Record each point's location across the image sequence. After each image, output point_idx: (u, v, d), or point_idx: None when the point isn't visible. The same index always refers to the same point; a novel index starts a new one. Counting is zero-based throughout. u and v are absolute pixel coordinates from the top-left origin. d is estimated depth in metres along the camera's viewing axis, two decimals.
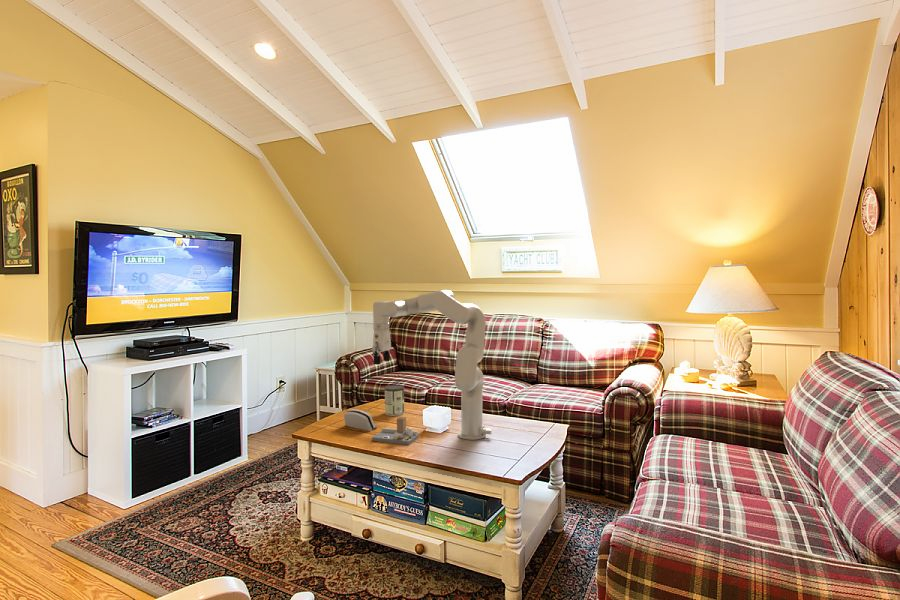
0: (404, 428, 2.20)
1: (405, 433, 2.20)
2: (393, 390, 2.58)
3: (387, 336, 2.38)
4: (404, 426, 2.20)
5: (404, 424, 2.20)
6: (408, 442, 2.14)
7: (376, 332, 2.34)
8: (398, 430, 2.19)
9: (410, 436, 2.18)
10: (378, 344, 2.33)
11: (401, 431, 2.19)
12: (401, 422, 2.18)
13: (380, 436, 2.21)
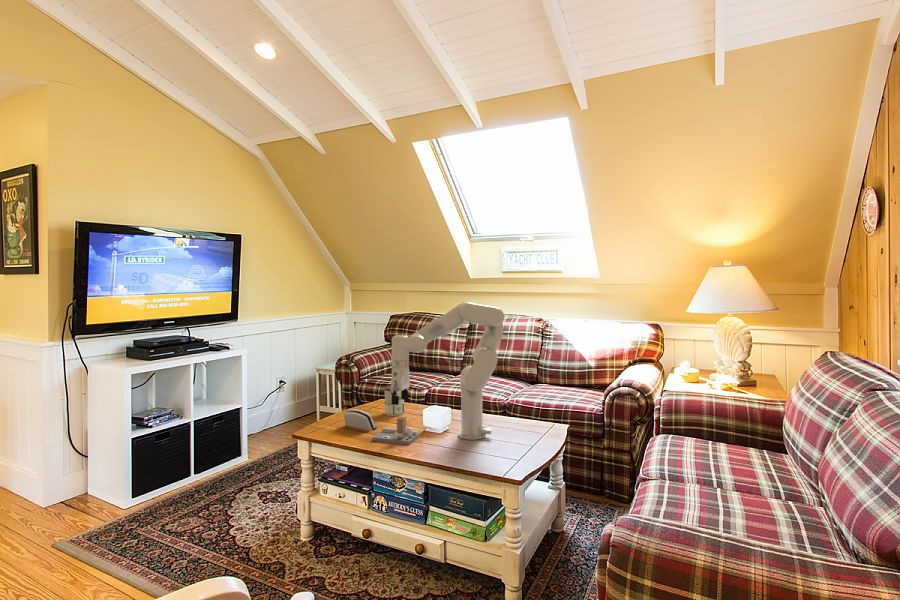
0: (404, 428, 2.20)
1: (405, 433, 2.20)
2: None
3: (406, 373, 2.19)
4: (404, 426, 2.20)
5: (404, 424, 2.20)
6: (408, 442, 2.14)
7: (395, 370, 2.15)
8: (398, 430, 2.19)
9: (410, 436, 2.18)
10: (397, 383, 2.14)
11: (401, 431, 2.19)
12: (401, 422, 2.18)
13: (380, 436, 2.21)
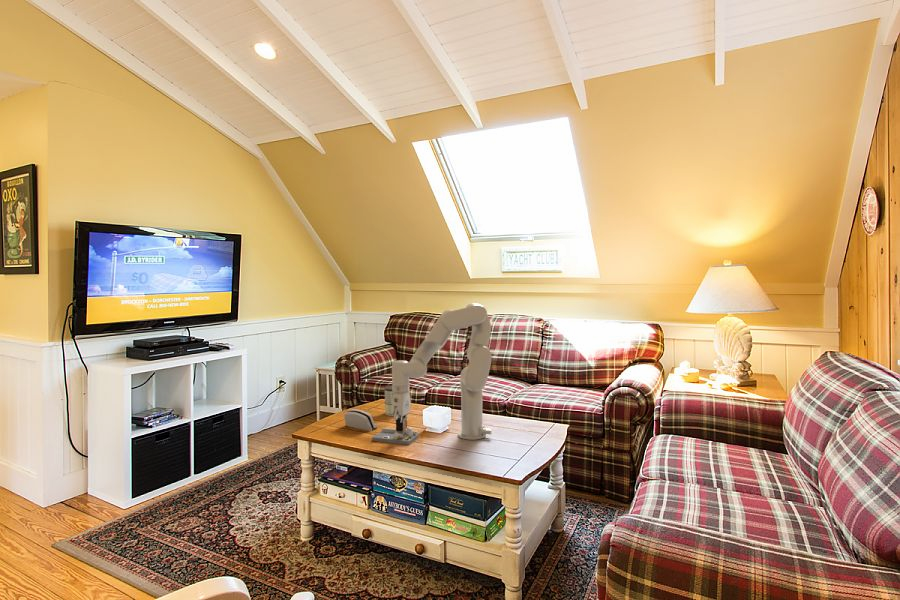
0: (404, 428, 2.20)
1: (405, 433, 2.20)
2: None
3: (407, 398, 2.20)
4: (404, 426, 2.20)
5: (404, 424, 2.20)
6: (408, 442, 2.14)
7: (395, 395, 2.15)
8: None
9: (410, 436, 2.18)
10: (398, 409, 2.15)
11: (401, 431, 2.19)
12: None
13: (380, 436, 2.21)
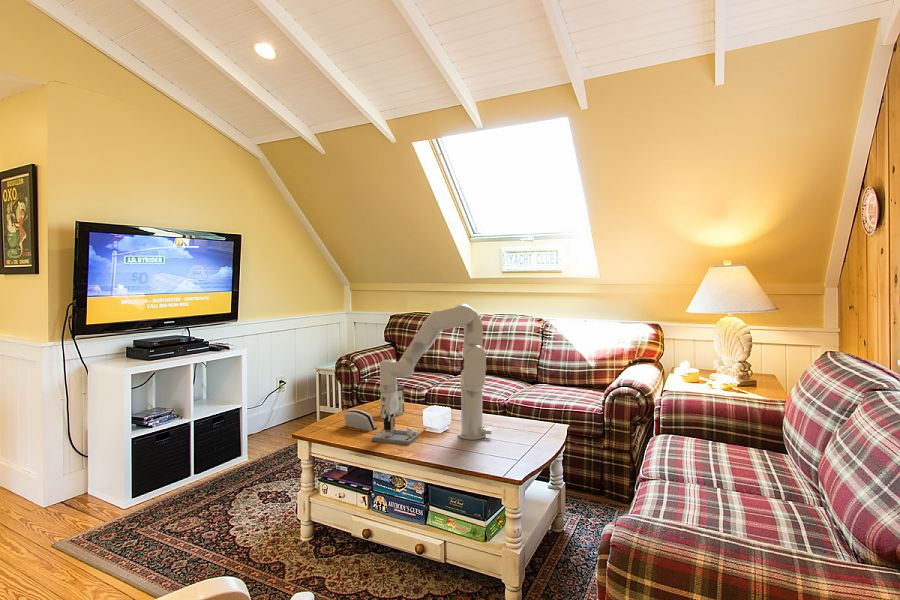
0: (392, 427, 2.22)
1: (393, 432, 2.22)
2: None
3: (395, 397, 2.22)
4: (392, 425, 2.22)
5: (392, 423, 2.22)
6: (408, 442, 2.14)
7: (383, 394, 2.17)
8: None
9: (410, 436, 2.18)
10: (385, 407, 2.17)
11: (389, 430, 2.21)
12: None
13: (380, 436, 2.21)
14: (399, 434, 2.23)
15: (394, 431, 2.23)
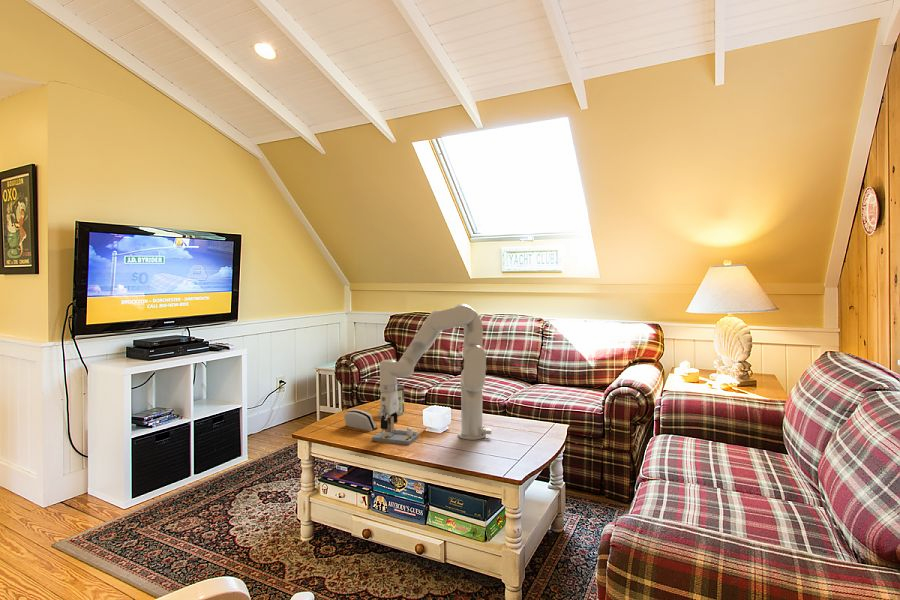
0: (392, 427, 2.22)
1: (393, 432, 2.22)
2: None
3: (395, 397, 2.22)
4: (392, 425, 2.22)
5: (392, 423, 2.22)
6: (408, 442, 2.14)
7: (383, 394, 2.17)
8: (386, 429, 2.21)
9: (410, 436, 2.18)
10: (385, 407, 2.17)
11: (389, 430, 2.21)
12: (389, 421, 2.21)
13: (380, 436, 2.21)
14: (399, 434, 2.23)
15: (394, 431, 2.23)
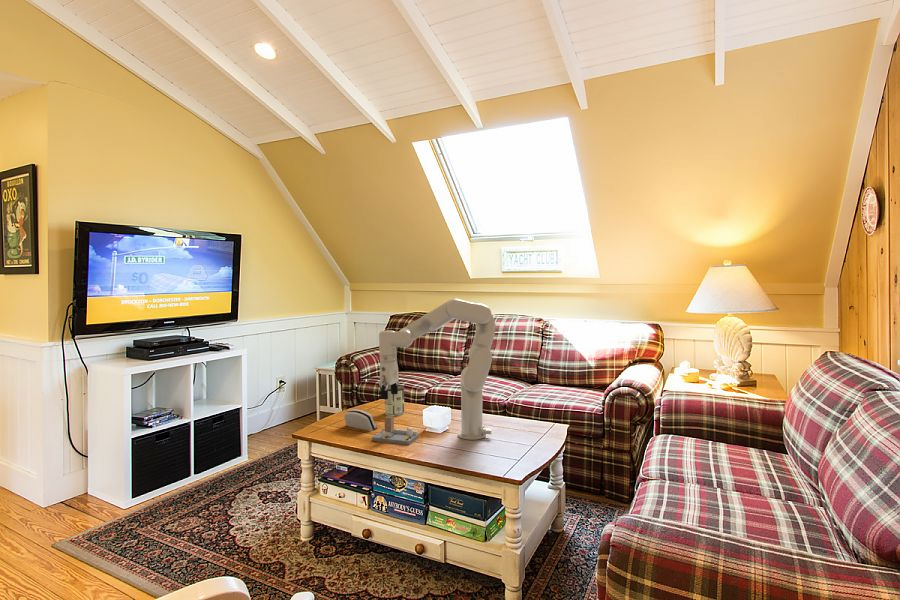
0: (392, 427, 2.22)
1: (393, 432, 2.22)
2: None
3: (395, 368, 2.21)
4: (392, 425, 2.22)
5: (392, 423, 2.22)
6: (408, 442, 2.14)
7: (383, 365, 2.17)
8: (386, 429, 2.21)
9: (410, 436, 2.18)
10: (385, 378, 2.16)
11: (389, 430, 2.21)
12: (389, 421, 2.21)
13: (380, 436, 2.21)
14: (399, 434, 2.23)
15: (394, 431, 2.23)
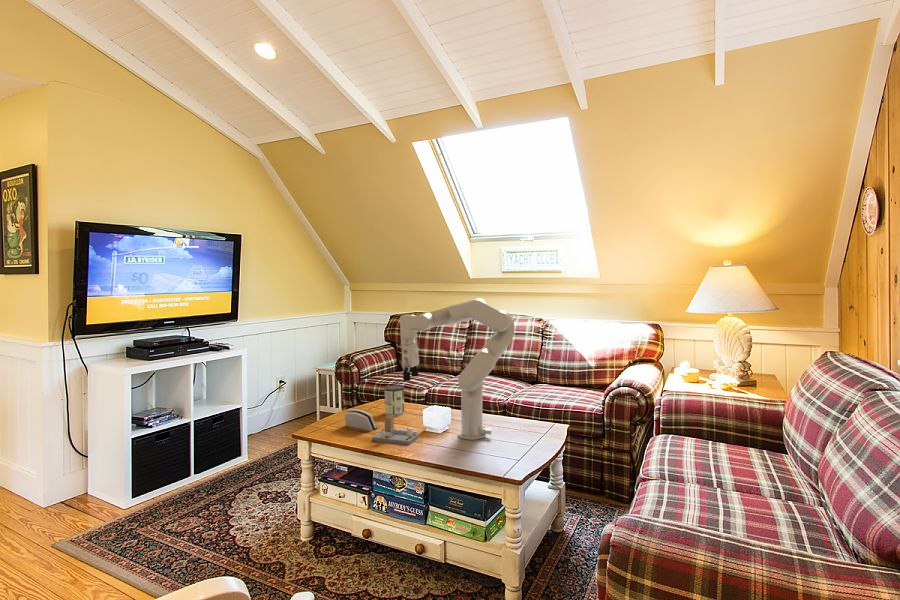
0: (392, 427, 2.22)
1: (393, 432, 2.22)
2: (393, 390, 2.58)
3: (415, 351, 2.29)
4: (392, 425, 2.22)
5: (392, 423, 2.22)
6: (408, 442, 2.14)
7: (405, 347, 2.24)
8: (386, 429, 2.21)
9: (410, 436, 2.18)
10: (407, 360, 2.24)
11: (389, 430, 2.21)
12: (389, 421, 2.21)
13: (380, 436, 2.21)
14: (399, 434, 2.23)
15: (394, 431, 2.23)
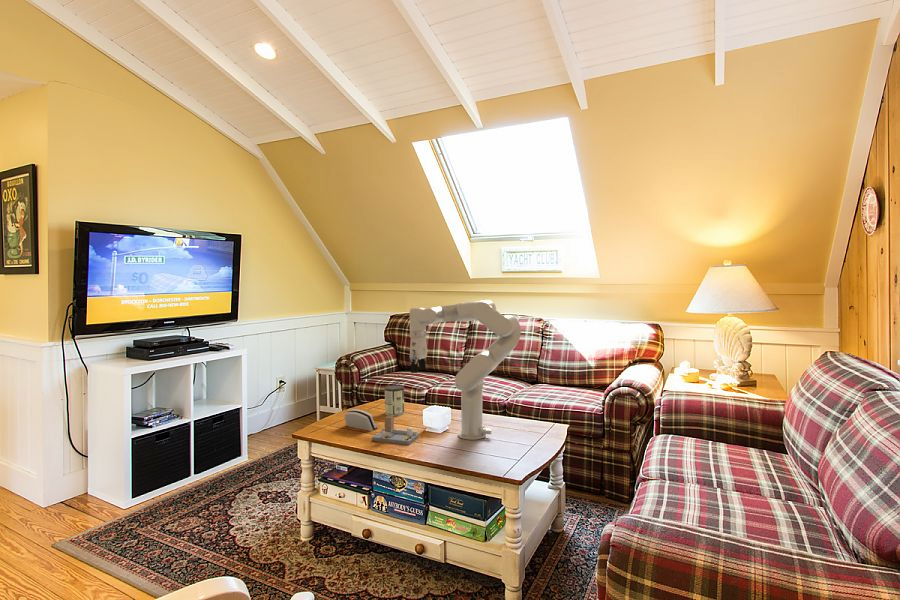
0: (392, 427, 2.22)
1: (393, 432, 2.22)
2: (393, 390, 2.58)
3: (424, 343, 2.32)
4: (392, 425, 2.22)
5: (392, 423, 2.22)
6: (408, 442, 2.14)
7: (413, 340, 2.28)
8: (386, 429, 2.21)
9: (410, 436, 2.18)
10: (415, 352, 2.27)
11: (389, 430, 2.21)
12: (389, 421, 2.21)
13: (380, 436, 2.21)
14: (399, 434, 2.23)
15: (394, 431, 2.23)
